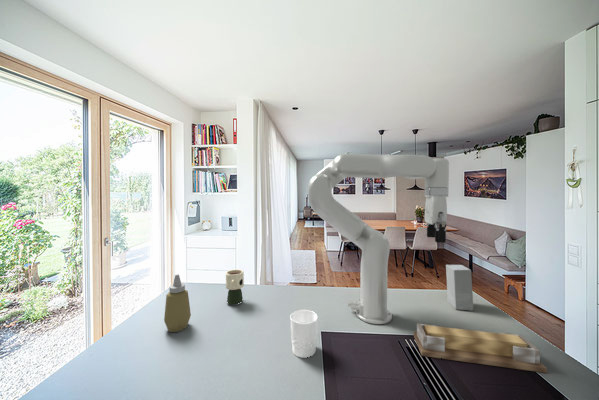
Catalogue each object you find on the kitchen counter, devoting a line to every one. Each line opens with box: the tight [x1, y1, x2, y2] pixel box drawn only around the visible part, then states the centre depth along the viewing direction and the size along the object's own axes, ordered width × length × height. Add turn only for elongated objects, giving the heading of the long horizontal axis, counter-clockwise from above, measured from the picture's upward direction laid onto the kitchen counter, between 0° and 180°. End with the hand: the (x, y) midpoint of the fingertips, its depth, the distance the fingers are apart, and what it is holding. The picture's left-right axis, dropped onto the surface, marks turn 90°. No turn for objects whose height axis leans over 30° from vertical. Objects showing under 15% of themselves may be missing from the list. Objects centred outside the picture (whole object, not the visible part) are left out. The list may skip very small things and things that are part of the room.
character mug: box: [225, 269, 245, 305], centre depth 100 cm, size 11×7×13 cm, turn 6°
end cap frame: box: [412, 323, 548, 374], centre depth 69 cm, size 29×10×5 cm, turn 77°
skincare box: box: [445, 264, 474, 311], centre depth 97 cm, size 8×7×16 cm
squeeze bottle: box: [163, 273, 192, 333], centre depth 82 cm, size 8×8×18 cm
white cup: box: [289, 309, 319, 359], centre depth 70 cm, size 8×8×10 cm
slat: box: [425, 324, 527, 357], centre depth 69 cm, size 24×4×4 cm, turn 77°
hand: (435, 239), depth 89 cm, fingers open, 9 cm apart
